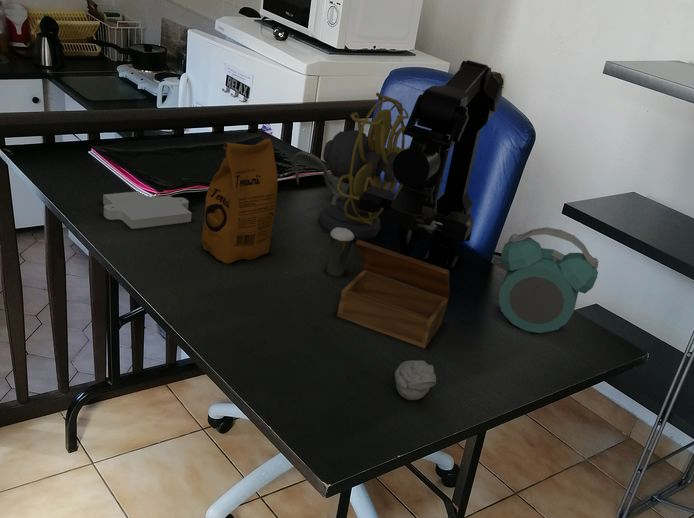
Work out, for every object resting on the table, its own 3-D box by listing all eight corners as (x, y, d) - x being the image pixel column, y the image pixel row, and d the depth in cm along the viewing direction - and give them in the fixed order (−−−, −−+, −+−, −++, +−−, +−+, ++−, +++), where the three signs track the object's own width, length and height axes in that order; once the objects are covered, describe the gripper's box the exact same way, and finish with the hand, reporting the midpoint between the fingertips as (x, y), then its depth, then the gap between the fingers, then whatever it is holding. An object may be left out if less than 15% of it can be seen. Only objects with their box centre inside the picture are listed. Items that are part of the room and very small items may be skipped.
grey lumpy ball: (402, 413, 112) (412, 375, 108) (382, 386, 117) (392, 348, 113) (437, 410, 114) (448, 372, 111) (416, 383, 120) (427, 346, 116)
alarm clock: (574, 328, 147) (610, 234, 137) (570, 349, 139) (608, 251, 129) (488, 300, 150) (518, 206, 140) (479, 320, 142) (510, 222, 132)
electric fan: (350, 256, 156) (379, 111, 141) (231, 203, 168) (246, 65, 153) (409, 227, 176) (441, 98, 161) (299, 182, 188) (319, 57, 173)
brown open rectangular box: (424, 348, 129) (432, 322, 127) (336, 316, 133) (342, 290, 131) (441, 323, 138) (448, 298, 136) (358, 294, 142) (363, 269, 139)
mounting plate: (171, 196, 165) (171, 188, 164) (201, 220, 157) (202, 211, 156) (91, 204, 154) (91, 195, 153) (119, 230, 146) (120, 221, 145)
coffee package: (193, 245, 146) (203, 134, 135) (245, 236, 155) (258, 130, 144) (223, 267, 141) (235, 153, 130) (275, 256, 149) (291, 148, 138)
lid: (447, 274, 125) (449, 270, 125) (355, 243, 128) (357, 239, 128) (448, 298, 135) (450, 294, 135) (363, 269, 139) (365, 265, 139)
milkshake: (347, 281, 146) (357, 233, 141) (321, 274, 146) (329, 226, 141) (352, 271, 150) (362, 225, 145) (326, 265, 150) (335, 218, 145)
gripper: (354, 166, 117) (336, 257, 125) (468, 201, 113) (443, 294, 120) (379, 151, 126) (361, 237, 134) (485, 184, 122) (460, 271, 130)
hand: (404, 259), depth 129 cm, fingers closed
